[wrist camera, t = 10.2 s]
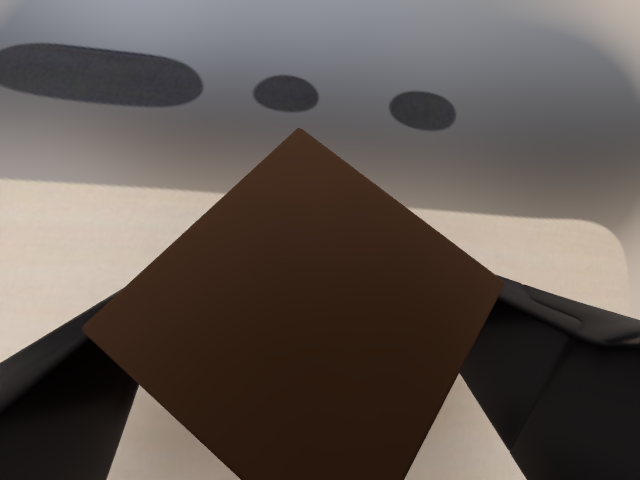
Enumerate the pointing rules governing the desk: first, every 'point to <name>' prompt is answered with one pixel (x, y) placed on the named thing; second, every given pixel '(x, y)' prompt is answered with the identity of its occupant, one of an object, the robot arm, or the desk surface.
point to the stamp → (302, 323)
